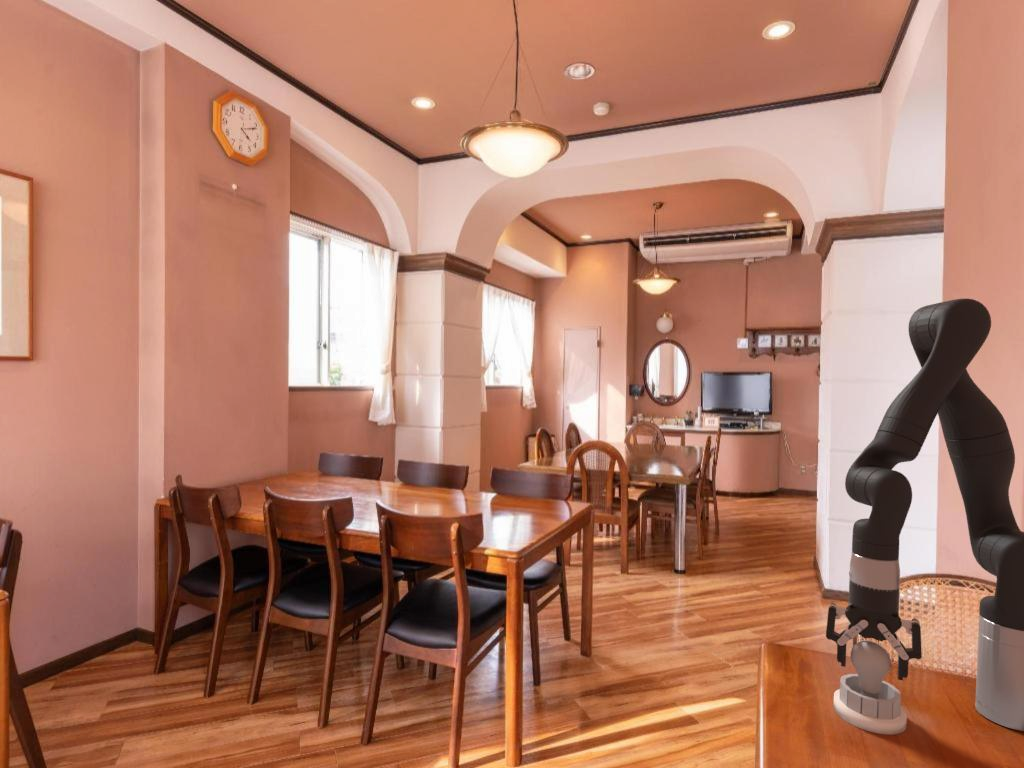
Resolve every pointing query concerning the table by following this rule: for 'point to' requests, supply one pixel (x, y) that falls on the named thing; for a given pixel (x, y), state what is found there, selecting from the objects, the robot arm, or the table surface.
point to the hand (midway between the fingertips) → (871, 671)
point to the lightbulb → (870, 666)
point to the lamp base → (870, 721)
